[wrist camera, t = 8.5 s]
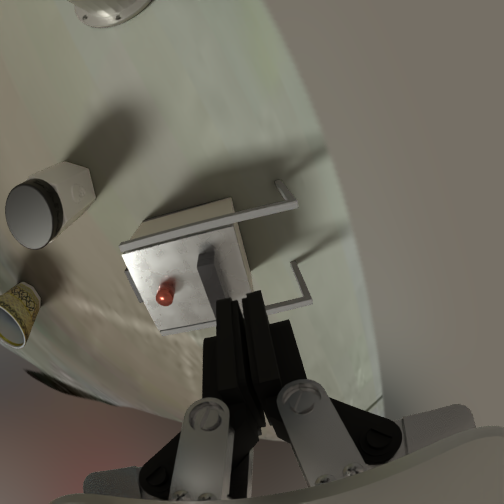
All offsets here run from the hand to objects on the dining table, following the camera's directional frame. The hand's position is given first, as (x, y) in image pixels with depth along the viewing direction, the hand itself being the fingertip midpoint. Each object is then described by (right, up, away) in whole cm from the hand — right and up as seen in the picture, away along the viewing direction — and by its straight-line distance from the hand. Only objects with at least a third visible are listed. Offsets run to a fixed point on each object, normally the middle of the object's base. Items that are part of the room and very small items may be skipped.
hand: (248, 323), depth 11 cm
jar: (-26, +12, +25) cm, 38 cm away
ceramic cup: (-45, -5, +32) cm, 55 cm away
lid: (-7, -1, +23) cm, 24 cm away
